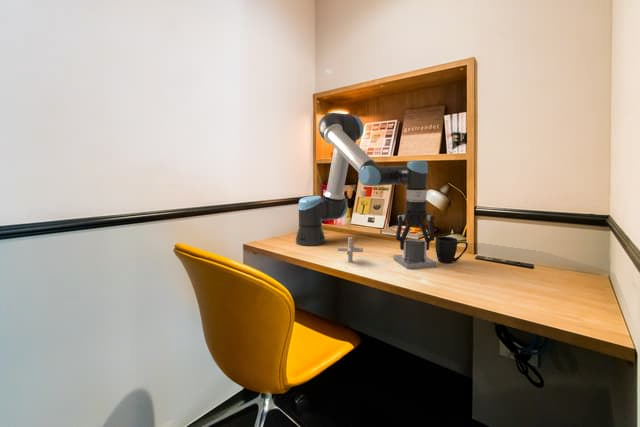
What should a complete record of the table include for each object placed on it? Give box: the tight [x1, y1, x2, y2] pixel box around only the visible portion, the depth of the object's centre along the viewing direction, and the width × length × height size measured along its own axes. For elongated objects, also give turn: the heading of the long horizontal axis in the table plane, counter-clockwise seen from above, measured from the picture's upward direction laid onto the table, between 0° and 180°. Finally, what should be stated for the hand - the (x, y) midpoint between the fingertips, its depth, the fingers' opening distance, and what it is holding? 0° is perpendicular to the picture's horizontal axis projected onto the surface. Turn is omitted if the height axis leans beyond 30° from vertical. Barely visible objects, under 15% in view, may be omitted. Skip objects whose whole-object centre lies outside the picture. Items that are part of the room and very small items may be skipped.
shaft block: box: [392, 254, 437, 270], centre depth 126 cm, size 12×12×8 cm
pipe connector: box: [337, 236, 364, 263], centre depth 129 cm, size 10×10×10 cm
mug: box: [434, 236, 469, 265], centre depth 127 cm, size 8×12×10 cm
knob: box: [405, 238, 425, 261], centre depth 126 cm, size 7×7×7 cm
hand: (414, 257), depth 126 cm, fingers closed on knob, 7 cm apart
